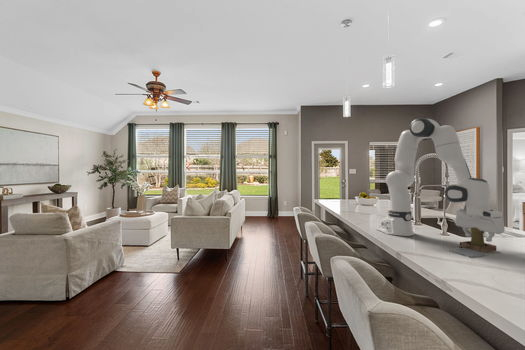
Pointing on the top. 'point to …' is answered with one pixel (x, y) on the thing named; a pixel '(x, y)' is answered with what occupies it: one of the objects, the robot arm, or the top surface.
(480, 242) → the olive green figurine
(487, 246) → the walnut cradle
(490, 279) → the top surface
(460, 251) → the rubber mat
